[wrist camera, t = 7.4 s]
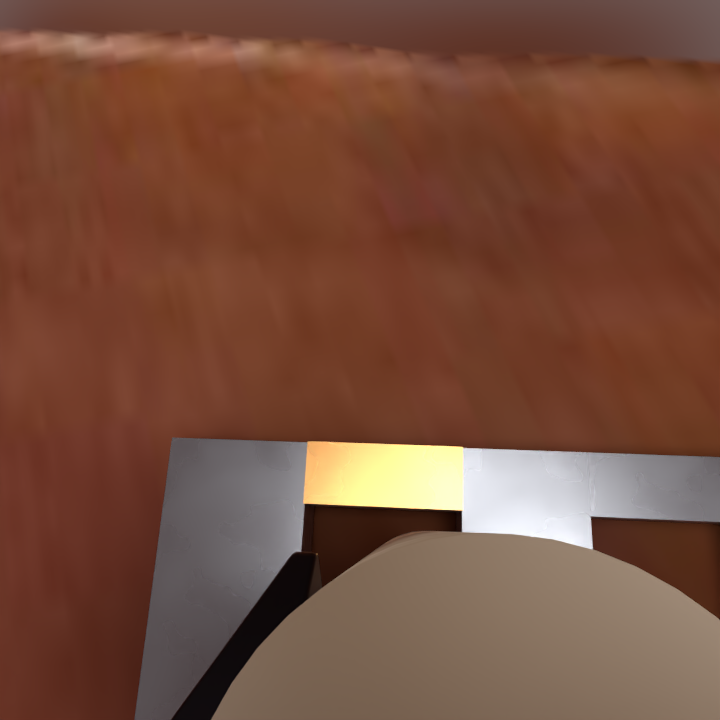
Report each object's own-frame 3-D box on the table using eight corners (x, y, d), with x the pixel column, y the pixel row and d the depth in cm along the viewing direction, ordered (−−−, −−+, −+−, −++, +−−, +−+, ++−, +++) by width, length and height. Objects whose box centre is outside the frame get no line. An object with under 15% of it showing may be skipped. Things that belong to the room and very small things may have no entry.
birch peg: (423, 728, 15) (526, 1733, 2) (322, 600, 16) (30, 857, 3) (535, 616, 15) (1079, 974, 3) (429, 499, 16) (510, 406, 4)
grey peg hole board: (857, 471, 22) (919, 463, 20) (913, 772, 20) (993, 811, 17) (194, 446, 24) (169, 436, 22) (161, 716, 22) (127, 743, 19)
